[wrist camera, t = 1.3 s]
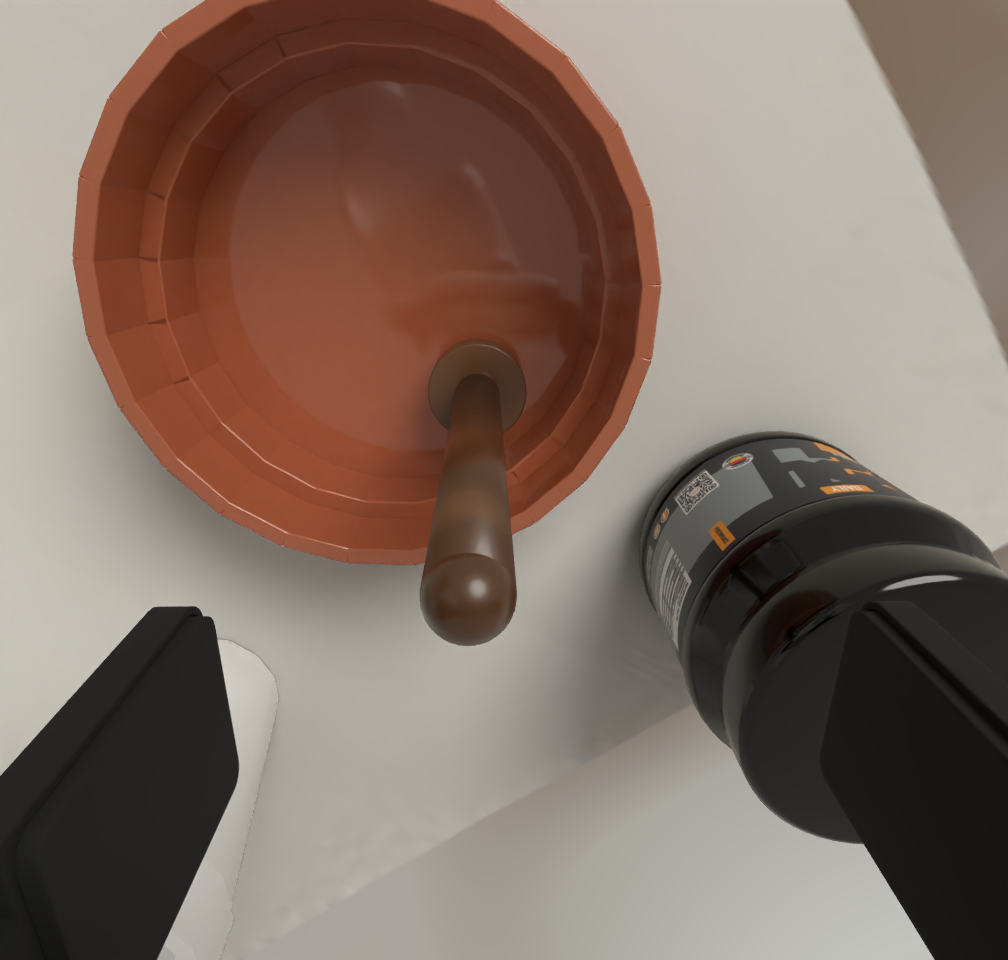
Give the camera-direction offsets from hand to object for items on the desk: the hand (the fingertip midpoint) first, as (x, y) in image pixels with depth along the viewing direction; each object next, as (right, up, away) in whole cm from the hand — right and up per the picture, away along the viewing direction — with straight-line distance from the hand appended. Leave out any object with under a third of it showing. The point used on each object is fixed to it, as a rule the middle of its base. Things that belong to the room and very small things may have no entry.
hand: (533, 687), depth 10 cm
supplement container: (+11, +1, +20) cm, 23 cm away
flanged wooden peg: (-1, +7, +15) cm, 17 cm away
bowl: (-5, +10, +16) cm, 19 cm away
